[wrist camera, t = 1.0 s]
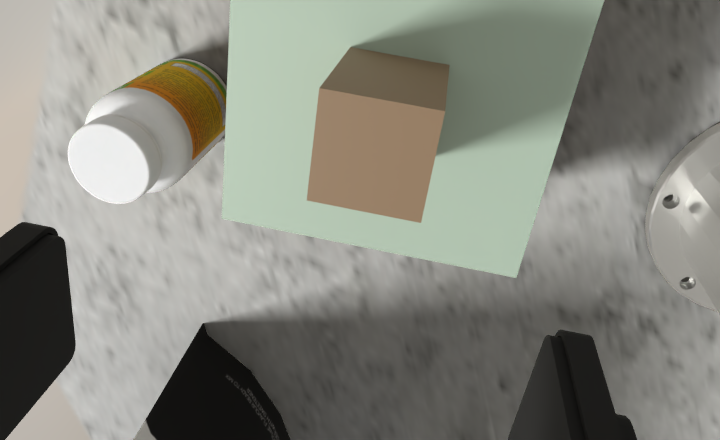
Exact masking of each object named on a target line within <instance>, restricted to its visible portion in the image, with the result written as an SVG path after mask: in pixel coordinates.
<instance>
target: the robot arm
mask: <svg viewBox="0 0 720 440" xmlns="http://www.w3.org/2000/svg"><path fill="white" fill-rule="evenodd" d="M670 194H671V195H670ZM668 195H670V196H669V197H668V198H665V197H666V196H668ZM645 235H646V240H647V244H648V248H649V252H650V254H651V256H652V258H653V260H654V263H655V265H656V267H657V268H658V270H659V271H660V273H661V274H662V276H663V277H664V279H665V280H666V282H667V283H668V284H669V285H670V286H671V287H672V288H673V289H674V290H675V291H677V292H678V293H679V294H681V295H682V296H684V297H686V298H687V299H689V300H690V301H692V302H694V303H695V304H698V305H700V306H703V307H706V308H708V309H711V310H713V311H718V313H719V314H720V123H718V124H716V125H714V126H712V127H710V128H709V129H707V130H706V131H705V132H703V133H702V134H700V135H699V136H698V137H696V138H695V139H693V140H692V141H691V142H689V143H688V144H687V145H686V146H685V147H684V148H683V149H682V150H681V151H680V152H679V153H678V154H677V155H676V156H675V157H674V158H673V159H672V160H671V162H670V163H669V164H668V166H667V167H666V169H665V170H664V171H663V173H662V174H661V175H660V177H659V179H658V181H657V183H656V185H655V187H654V189H653V191H652V193H651V196H650V199H649V203H648V207H647V211H646V215H645ZM74 351H75V334H74V324H73V314H72V305H71V295H70V285H69V276H68V266H67V257H66V247H65V241H64V239H63V238H62V237H59V236H58V233H57V232H56V230H55V229H54V228H52V227H47V226H42V225H37V224H32V223H27V222H22V223H20V224H18V225H16V226H15V227H14V228H13V229H11V230H10V231H8V232H7V233H6V234H4V235H3V236H2V237H0V440H5V439H6V438H7V437H8V436H9V434H10V433H11V432H12V431H13V429H14V428H15V427H16V426H17V425H18V423H19V422H20V421H21V420H22V419H23V417H24V416H25V415H26V414H27V413H28V412H29V410H30V409H31V408H32V407H33V405H34V404H35V403H36V402H37V400H38V399H39V398H40V397H41V396H42V395H43V394H44V392H45V391H46V390H47V389H48V387H49V386H50V385H51V384H52V383H53V381H54V380H55V379H56V378H57V377H58V375H59V374H60V373H61V372H62V371H63V369H64V368H65V367H66V366H67V365H68V363H69V362H70V361H71V359H72V357H73V354H74ZM508 440H637V438H636V435H635V432H634V429H633V426H632V424H631V422H630V420H629V419H628V418H627V417H626V416H622V415H617V414H615V411H614V407H613V404H612V401H611V397H610V394H609V390H608V387H607V384H606V380H605V377H604V374H603V370H602V367H601V364H600V360H599V357H598V354H597V350H596V347H595V344H594V340H593V338H592V337H591V336H590V335H585V334H580V333H575V332H570V331H565V330H559V331H558V332H557V333H556V335H555V336H550V335H547V336H546V337H545V339H544V341H543V344H542V347H541V350H540V352H539V355H538V358H537V360H536V363H535V366H534V369H533V371H532V374H531V377H530V380H529V382H528V385H527V388H526V391H525V393H524V396H523V399H522V402H521V404H520V407H519V410H518V413H517V415H516V418H515V421H514V424H513V426H512V429H511V432H510V435H509V438H508Z"/></svg>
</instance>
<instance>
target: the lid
mask: <svg viewBox="0 0 720 440" xmlns="http://www.w3.org/2000/svg"><path fill="white" fill-rule="evenodd" d="M603 3H604V0H230V20H229V46H228V72H227V97H226V123H225V149H224V174H223V200H222V219H226V220H231V221H236V222H241V223H246V224H250V225H255V226H260V227H265V228H270V229H275V230H280V231H285V232H290V233H295V234H300V235H305V236H310V237H315V238H320V239H325V240H330V241H335V242H340V243H345V244H350V245H355V246H360V247H365V248H370V249H375V250H380V251H385V252H389V253H394V254H399V255H404V256H409V257H414V258H419V259H424V260H429V261H434V262H439V263H444V264H449V265H454V266H459V267H464V268H469V269H474V270H479V271H484V272H489V273H494V274H499V275H504V276H509V277H514V278H516V277H517V274H518V271H519V268H520V265H521V261H522V258H523V255H524V252H525V249H526V246H527V243H528V239H529V236H530V233H531V230H532V227H533V224H534V221H535V217H536V214H537V211H538V208H539V205H540V202H541V198H542V195H543V192H544V189H545V186H546V183H547V180H548V176H549V173H550V170H551V167H552V164H553V161H554V157H555V154H556V151H557V148H558V145H559V142H560V139H561V135H562V132H563V129H564V126H565V123H566V120H567V116H568V113H569V110H570V107H571V104H572V101H573V98H574V94H575V91H576V88H577V85H578V82H579V79H580V76H581V72H582V69H583V66H584V63H585V60H586V57H587V53H588V50H589V47H590V44H591V41H592V38H593V35H594V31H595V28H596V25H597V22H598V19H599V16H600V12H601V9H602V6H603Z"/></svg>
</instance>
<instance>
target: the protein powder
mask: <svg viewBox="0 0 720 440" xmlns="http://www.w3.org/2000/svg"><path fill="white" fill-rule="evenodd" d="M133 440H290V438H289V436H288V433H287V431H286V428H285V425H284V423H283V420H282V418H281V415H280V413H279V412H278V410H277V409H276V407H275V406H274V405H273V403H272V402H271V400H270V399H269V397H268V396H267V394H266V393H265V392H264V390H263V389H262V387H261V386H260V384H259V383H258V381H257V380H256V378H255V377H254V376H253V374H252V373H251V371H250V370H249V369H247V368H246V367H245V366H244V365H243V364H242V363H240V362H239V361H238V360H237V359H236V358H234V357H233V356H232V355H231V354H230V353H228V352H227V351H226V350H225V349H224V348H222V347H221V346H220V345H219V344H218V343H217V342H215V341H214V340H213V339H212V338H211V337H209V336H208V335H207V333H206V329H205V326H204V323H203V324H202V326H201V327H200V329H199V331H198V332H197V334H196V336H195V337H194V339H193V341H192V343H191V344H190V346H189V348H188V349H187V351H186V353H185V354H184V356H183V358H182V359H181V361H180V363H179V364H178V366H177V368H176V370H175V371H174V373H173V375H172V376H171V378H170V380H169V381H168V383H167V385H166V386H165V388H164V390H163V391H162V393H161V395H160V396H159V398H158V400H157V402H156V403H155V405H154V407H153V408H152V410H151V412H150V413H149V415H148V417H147V418H146V420H145V422H144V423H143V425H142V427H141V428H140V430H139V432H138V433H137V435H136V436H135V438H134V439H133Z"/></svg>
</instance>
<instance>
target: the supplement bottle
mask: <svg viewBox="0 0 720 440" xmlns="http://www.w3.org/2000/svg"><path fill="white" fill-rule="evenodd" d="M226 97H227V87H226V85H225V83H224V82H223V80H222V79H221V78H220V77H219V76H218V75H217V74H216V73H215V72H214V71H213V70H212V69H210V68H209V67H207V66H206V65H204V64H202V63H200V62H197V61H194V60H190V59H172V60H169V61H166V62H164V63H162V64H160V65H158V66H156V67H154V68H153V69H151V70H149V71H147V72H146V73H144V74H142V75H140V76H139V77H137V78H135V79H133V80H132V81H130V82H128V83H126V84H124V85H123V86H121V87H119V88H117V89H115V90H113V91H111V92H110V93H108V94H106V95H105V96H103V97H102V98H101V99H99V100H98V101H97V102H96V103H95V104H94V106H93V107H92V108H91V110H90V111H89V113H88V116H87V118H86V122H85V125H84V126H83V127H81V128H80V129H79V130H78V131H77V132H76V133H75V134H74V135H73V137H72V138H71V140H70V143H69V147H68V160H69V165H70V168H71V170H72V172H73V174H74V176H75V178H76V179H77V181H78V182H79V183H80V185H81V186H82V187H83V188H84V189H85V190H87V191H88V192H89V193H90V194H92V195H93V196H95V197H96V198H98V199H100V200H103V201H106V202H109V203H115V204H124V203H129V202H132V201H135V200H137V199H138V198H140V197H141V196H142V195H143V194H145V193H154V192H159V191H162V190H165V189H167V188H169V187H171V186H172V185H174V184H175V183H176V182H178V181H179V180H180V179H181V178H182V177H183V176H184V175H185V174H186V173H187V172H188V171H189V170H190V169H191V168H192V167H193V166H194V165H195V164H196V163H197V162H198V161H199V160H200V159H201V158H202V157H203V156H204V155H205V154H206V153H208V152H209V151H210V150H211V149H212V148H213V147H214V146H215V145H216V144H217V143H218V142H219V141H220V140H221V138H222V137H223V136H224V135H225V123H226Z"/></svg>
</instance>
